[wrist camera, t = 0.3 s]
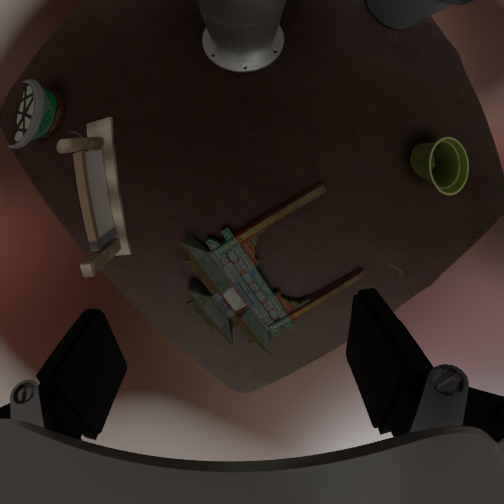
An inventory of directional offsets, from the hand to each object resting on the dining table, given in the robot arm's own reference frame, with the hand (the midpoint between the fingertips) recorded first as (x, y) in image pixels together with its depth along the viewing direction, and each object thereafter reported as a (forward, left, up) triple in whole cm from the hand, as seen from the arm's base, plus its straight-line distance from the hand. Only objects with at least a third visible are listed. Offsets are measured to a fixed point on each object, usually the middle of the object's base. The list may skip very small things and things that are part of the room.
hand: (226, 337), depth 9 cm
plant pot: (-4, +33, -36) cm, 48 cm away
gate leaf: (-1, -23, -34) cm, 41 cm away
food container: (-18, -33, -36) cm, 52 cm away
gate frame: (-2, -23, -35) cm, 42 cm away
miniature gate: (+16, +4, -36) cm, 40 cm away
